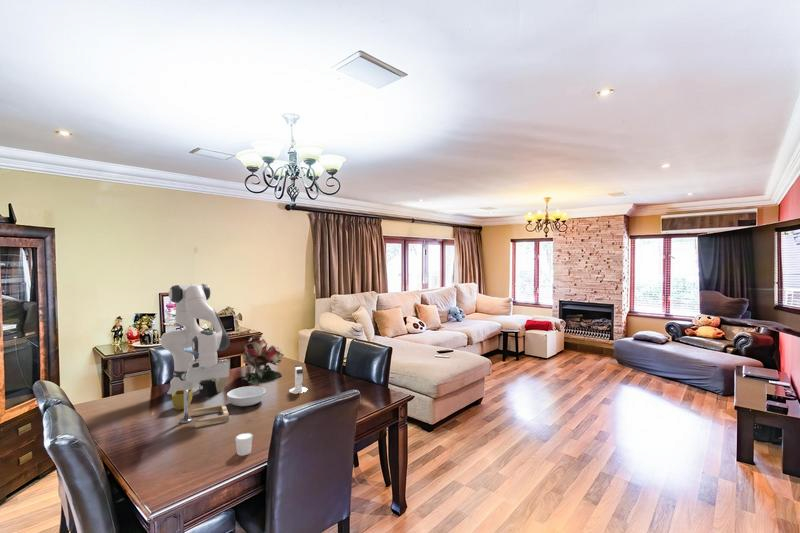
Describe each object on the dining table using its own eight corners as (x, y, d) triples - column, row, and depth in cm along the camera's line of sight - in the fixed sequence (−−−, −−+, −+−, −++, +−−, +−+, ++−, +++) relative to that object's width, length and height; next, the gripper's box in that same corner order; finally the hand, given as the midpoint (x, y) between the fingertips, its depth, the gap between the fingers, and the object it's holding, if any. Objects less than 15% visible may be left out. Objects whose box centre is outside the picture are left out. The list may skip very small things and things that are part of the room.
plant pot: (233, 387, 248) (233, 363, 248) (220, 395, 233) (220, 369, 233) (211, 386, 250) (211, 362, 249) (197, 394, 235) (197, 368, 234)
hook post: (179, 420, 197) (179, 389, 197) (192, 417, 200) (192, 387, 200) (179, 427, 189) (179, 395, 189) (193, 424, 192) (193, 393, 192)
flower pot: (171, 411, 208) (171, 395, 208) (176, 406, 217) (176, 390, 216) (189, 410, 211) (189, 394, 210) (193, 404, 219) (193, 388, 219)
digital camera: (220, 393, 198) (217, 380, 198) (209, 397, 194) (207, 384, 194) (210, 391, 205) (208, 378, 205) (200, 395, 201) (197, 382, 200)
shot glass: (254, 448, 168) (254, 432, 168) (249, 456, 161) (249, 439, 161) (239, 448, 168) (239, 432, 168) (232, 456, 161) (232, 440, 161)
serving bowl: (252, 411, 209) (252, 399, 208) (218, 408, 213) (218, 396, 213) (272, 398, 229) (272, 387, 229) (241, 396, 233) (241, 384, 233)
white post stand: (309, 392, 239) (309, 368, 239) (290, 394, 235) (290, 370, 235) (306, 386, 250) (306, 363, 250) (288, 388, 246) (288, 365, 246)
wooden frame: (193, 415, 204) (193, 409, 204) (224, 409, 212) (224, 403, 212) (195, 427, 189) (195, 421, 189) (229, 420, 197) (229, 415, 197)
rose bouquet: (288, 374, 277) (288, 333, 276) (254, 385, 252) (254, 340, 251) (264, 369, 290) (264, 329, 290) (230, 379, 265) (230, 336, 265)
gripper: (228, 357, 207) (228, 382, 207) (185, 362, 197) (185, 389, 197) (230, 360, 202) (230, 386, 202) (186, 365, 191) (186, 393, 191)
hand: (208, 387), depth 199 cm, fingers closed on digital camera, 5 cm apart
